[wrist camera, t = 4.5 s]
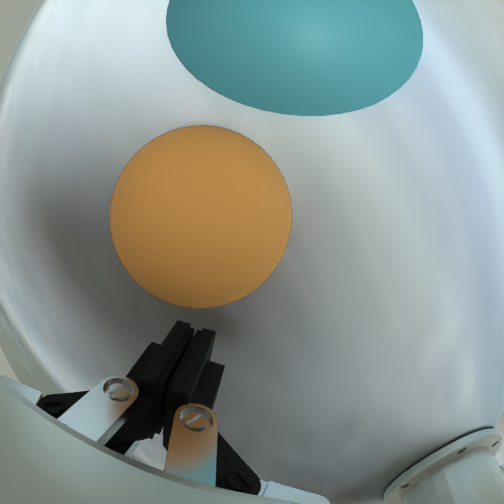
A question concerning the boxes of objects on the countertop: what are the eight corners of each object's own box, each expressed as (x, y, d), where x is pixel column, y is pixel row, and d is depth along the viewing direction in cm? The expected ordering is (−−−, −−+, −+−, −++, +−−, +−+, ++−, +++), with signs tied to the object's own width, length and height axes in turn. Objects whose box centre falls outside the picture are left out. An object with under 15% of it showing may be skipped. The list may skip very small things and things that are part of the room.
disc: (422, -24, 7) (424, -25, 7) (402, 157, 10) (404, 156, 10) (213, -70, 7) (213, -72, 7) (133, 90, 10) (131, 89, 10)
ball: (273, 362, 7) (284, 258, 12) (307, 149, 5) (300, 125, 9) (98, 324, 8) (162, 242, 13) (56, 147, 5) (155, 119, 10)
